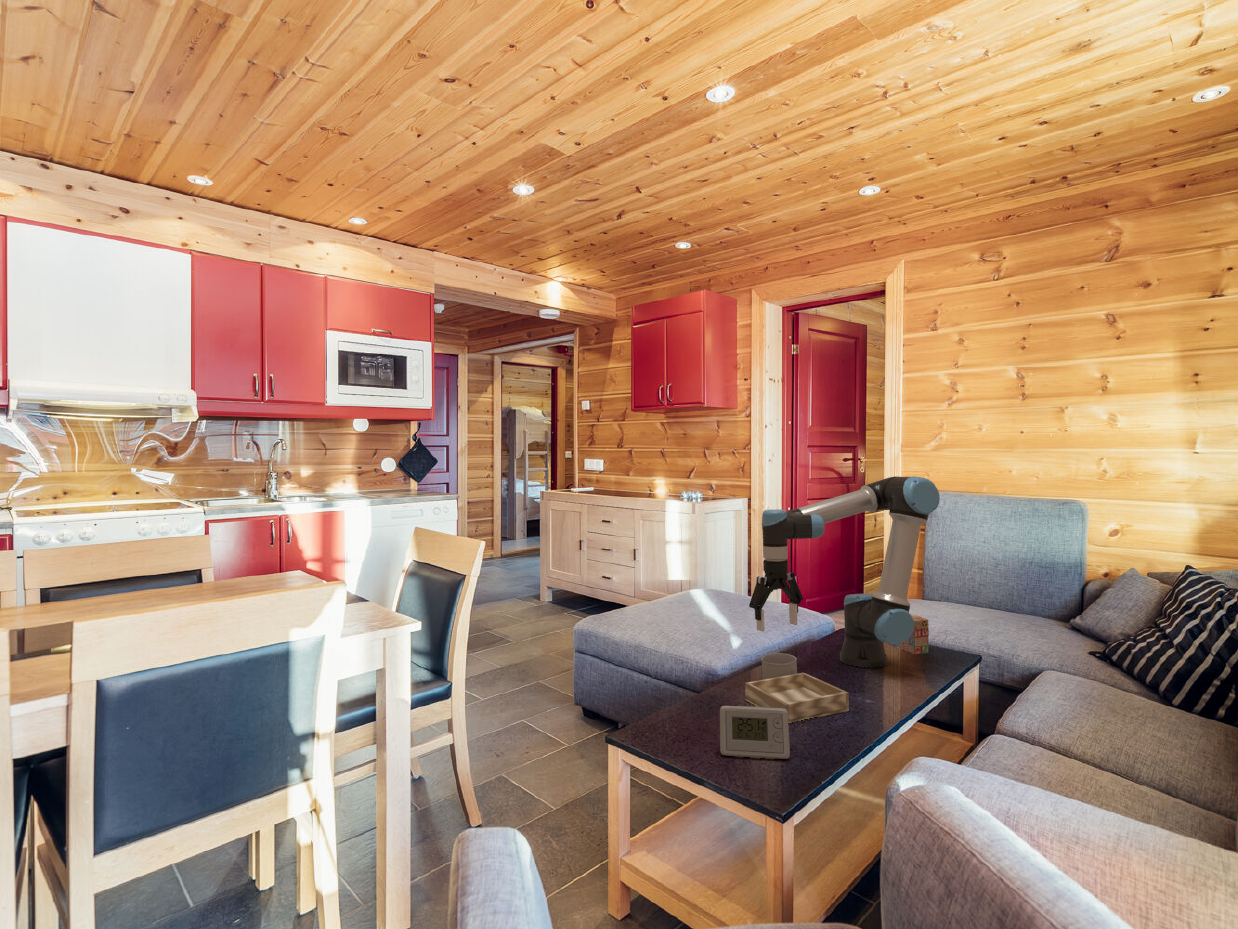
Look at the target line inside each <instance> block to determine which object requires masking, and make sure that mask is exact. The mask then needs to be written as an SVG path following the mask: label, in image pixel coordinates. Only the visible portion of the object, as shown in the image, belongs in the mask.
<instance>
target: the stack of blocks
mask: <svg viewBox="0 0 1238 929" xmlns="http://www.w3.org/2000/svg"><path fill="white" fill-rule="evenodd" d="M910 614H911V616H912V619H913V620H914V630H913V633H912V635H911V636H910V637H909V638H908V639H907V640H906V641H904V642H903V643H901V644H891V645H890V646H892V645H893V646H892V647H894V646H895V647H894V648H897V647H898V648H897V649H899V648H900V649H899V650H902V651H905V652H907V653H909V652H910V653H909V654H911V653H912V654H911V655H915V656H916V655H923V654H929V651H930V650H929V649H930V647H929V629H930V628H929V619H927V618H924V617H923V616H920V615H917V614H913V613H910ZM888 645H889V643H888Z"/></svg>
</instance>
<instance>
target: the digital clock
mask: <svg viewBox="0 0 1238 929" xmlns="http://www.w3.org/2000/svg"><path fill="white" fill-rule="evenodd" d="M789 728H790V726H789V724H788V712H787V710H786V709H783V708H770V707H757V706H755V705H753V706H752V705H750V706H749V705H736V706H735V705H722V706H721V707H719V743H720V744H719V749H720V753H721V755H723V756H728V757H729V756H730V757H735V758H743V757H750V758H749V759H760V758H765V759H764V760H775V759H776V760H777V759H778V760H779V759H780V760H785V759H786V760H787V759H789V758H790V756H791V755H790V754H791V753H790V752H791V750H790V749H791V748H790V729H789Z"/></svg>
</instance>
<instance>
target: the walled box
mask: <svg viewBox="0 0 1238 929" xmlns="http://www.w3.org/2000/svg"><path fill="white" fill-rule="evenodd" d="M744 688H745V689H744V691H745V693H744V694H745V701H746V702H749V704H751V705H753V704H754V705H753V706H756V707H770V708H783V709H786V710H787V712H788V723H789V724H792V722H793V723H797V721H798V722H802V721H801V720H803V721H805V720H804V719H808V720H810V719H809V718H812V719H815V718H814V717H817V718H821V717H826V716H831V715H834V714H840V713H845V712H846V713H847V712H849V711H850V706H849V705H850V702H849V700H850V698H849V691H848V692H847V691H846V690H843V689H841V688H839V687H837V686H835V685H832V684H830V683H828V682H826V681H824V680H821V679H819V678H817V677H814V676H812V675H810V674H808V673H805V672H801V673H800V672H799V673H798V672H797V674H793V675H787V676H781V677H776V678H770V679H765V678H764V679H760V680H754V681H748V682H745V684H744Z"/></svg>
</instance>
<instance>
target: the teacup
mask: <svg viewBox="0 0 1238 929" xmlns="http://www.w3.org/2000/svg"><path fill="white" fill-rule="evenodd" d="M760 660H761V668H762V675H763V678H764V679H770V678H776V677H781V676H787V675H793V674H798V667H797V666H798V665H797V661H798V658H797V657H796V656H794V655H793V654H789V653H785V652H784V653H781V652H775V651H772V652H770V653H768V654H765V655H763V656H762V657H761V658H760Z"/></svg>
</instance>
